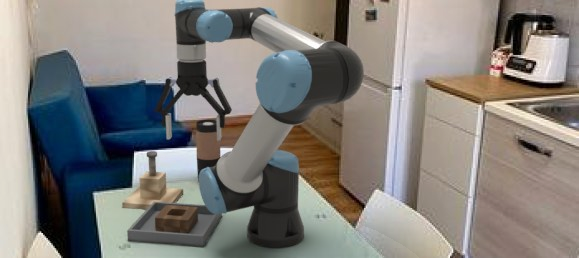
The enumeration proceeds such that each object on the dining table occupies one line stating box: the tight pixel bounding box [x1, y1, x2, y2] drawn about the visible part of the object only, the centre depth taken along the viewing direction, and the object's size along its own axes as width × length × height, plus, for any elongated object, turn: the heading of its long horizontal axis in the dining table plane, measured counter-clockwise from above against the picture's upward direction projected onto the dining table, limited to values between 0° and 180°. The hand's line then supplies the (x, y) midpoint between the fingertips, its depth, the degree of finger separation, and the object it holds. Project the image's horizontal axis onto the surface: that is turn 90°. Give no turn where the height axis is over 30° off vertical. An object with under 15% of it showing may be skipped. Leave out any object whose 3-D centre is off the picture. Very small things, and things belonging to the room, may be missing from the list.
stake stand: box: [121, 150, 184, 210], centre depth 189 cm, size 14×14×15 cm
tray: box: [126, 202, 223, 248], centre depth 172 cm, size 20×20×3 cm
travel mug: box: [195, 118, 221, 183], centre depth 205 cm, size 8×8×20 cm
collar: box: [155, 205, 198, 234], centre depth 172 cm, size 9×9×4 cm
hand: (194, 138), depth 171 cm, fingers open, 13 cm apart
